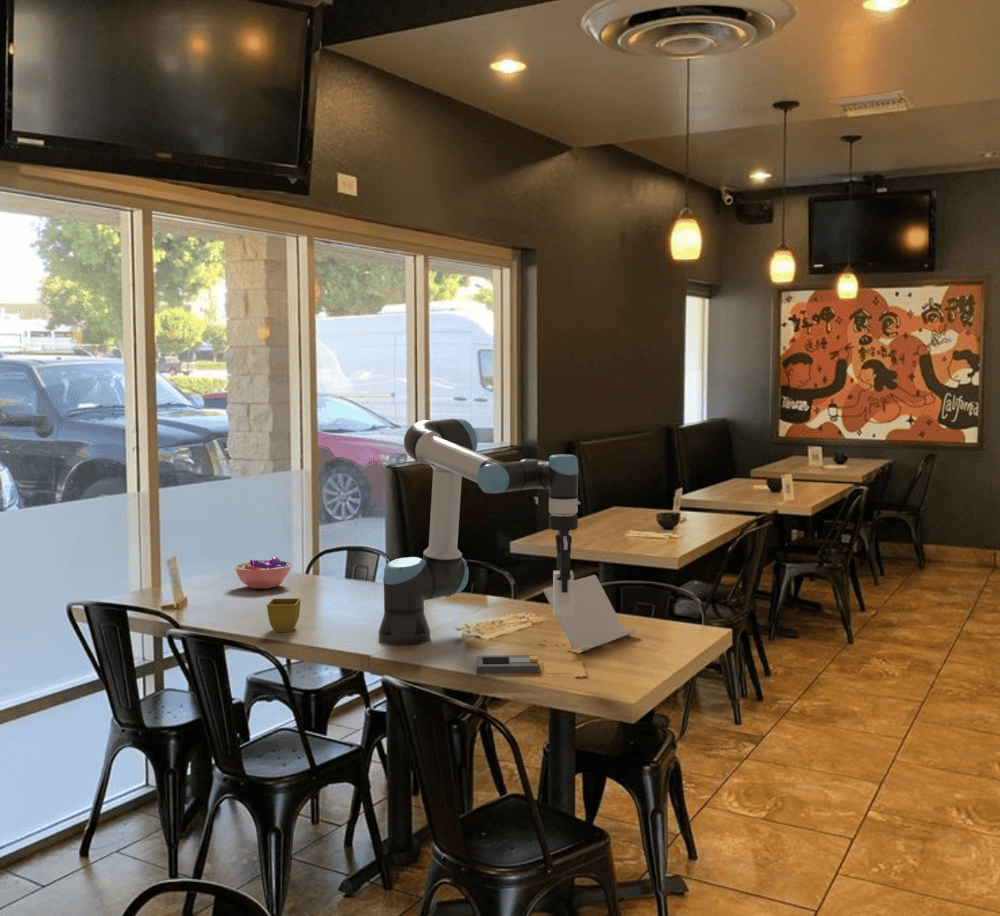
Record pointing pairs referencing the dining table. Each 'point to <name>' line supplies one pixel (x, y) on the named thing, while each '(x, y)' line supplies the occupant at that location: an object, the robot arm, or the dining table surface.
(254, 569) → the cell model
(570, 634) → the tablet stand
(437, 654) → the dining table surface
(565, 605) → the block
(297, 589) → the dining table surface
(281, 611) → the flower pot
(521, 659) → the grey slotted tray
